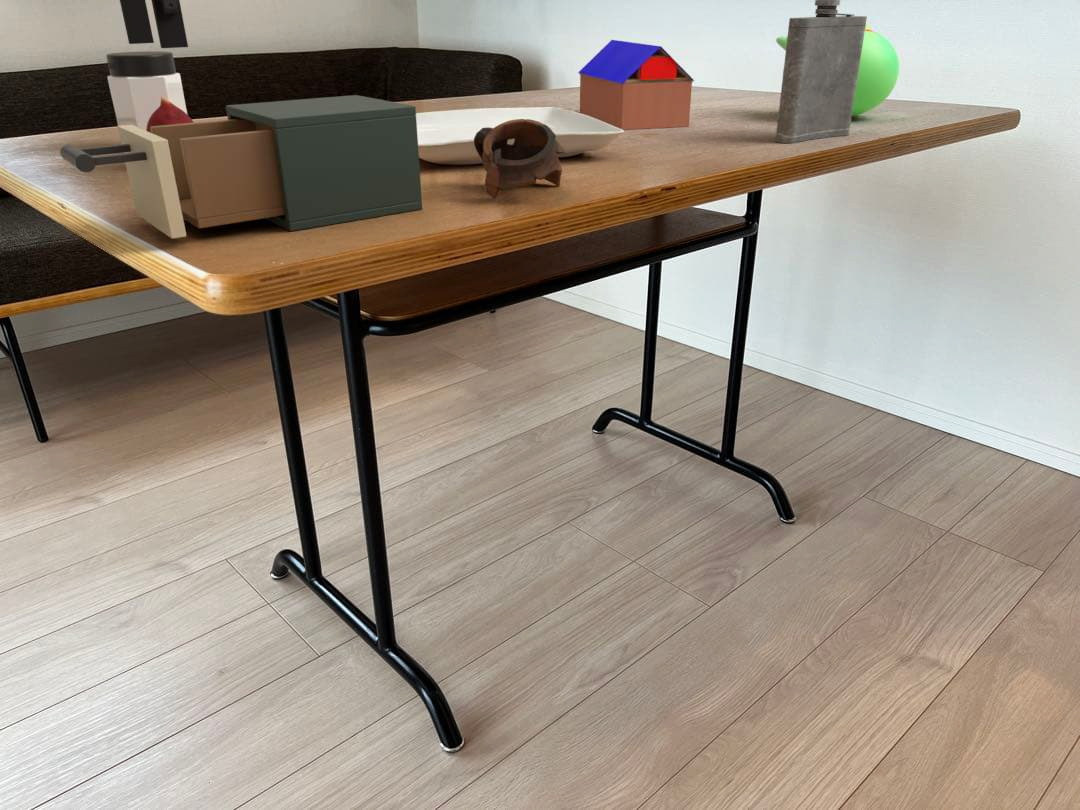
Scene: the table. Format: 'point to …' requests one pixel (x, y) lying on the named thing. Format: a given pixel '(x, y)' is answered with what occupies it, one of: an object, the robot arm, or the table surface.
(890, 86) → the toy bird
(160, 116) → the onion
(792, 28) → the flask
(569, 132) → the square plate
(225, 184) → the drawer
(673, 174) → the table surface
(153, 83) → the jar
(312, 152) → the cabinet
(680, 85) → the house
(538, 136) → the pottery mug
